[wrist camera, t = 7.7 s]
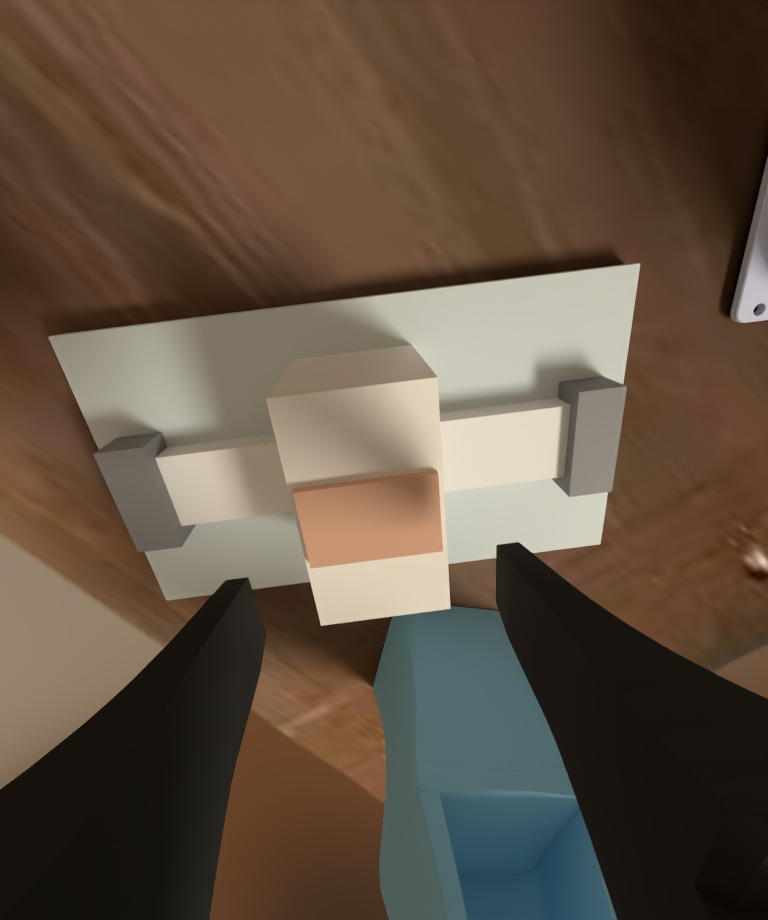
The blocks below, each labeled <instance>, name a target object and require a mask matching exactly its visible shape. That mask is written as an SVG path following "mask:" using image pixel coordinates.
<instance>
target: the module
mask: <svg viewBox="0 0 768 920" xmlns="http://www.w3.org/2000/svg"><path fill="white" fill-rule="evenodd" d="M266 401H267V406H268V410H269V414H270V418H271V422H272V426H273V430H274V434H275V438H276V443H277V447H278V451H279V455H280V459H281V463H282V467H283V471H284V476H285V480H286V484H287V488H288V492H289V496H290V500H291V504H292V508H293V513H294V517H295V521H296V525H297V529H298V533H299V537H300V541H301V546H302V550H303V554H304V558H305V562H306V566H307V570H308V574H309V578H310V583H311V587H312V591H313V595H314V599H315V603H316V607H317V611H318V615H319V620H320V624H321V626H323V625H331V624H339V623H346V622H354V621H361V620H369V619H377V618H384V617H392V616H399V615H407V614H415V613H422V612H430V611H437V610H445V609H451V608H450V590H449V572H448V554H447V536H446V517H445V499H444V481H443V463H442V445H441V427H440V409H439V391H438V377H437V376H436V374H435V373H434V372H433V371H432V369H431V368H430V367H429V366H428V364H427V363H426V362H425V361H424V359H423V358H422V357H421V355H420V354H419V353H418V352H417V350H416V349H415V348H414V347H413V345H405V346H397V347H389V348H381V349H373V350H365V351H357V352H349V353H341V354H333V355H325V356H317V357H309V358H301V359H295V360H294V361H293V362H292V364H291V365H290V366H289V368H288V369H287V371H286V372H285V373H284V375H283V376H282V377H281V379H280V380H279V381H278V383H277V384H276V386H275V387H274V388H273V390H272V391H271V392H270V394H269V395H268V396H267V398H266Z"/></svg>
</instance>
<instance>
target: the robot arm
mask: <svg viewBox="0 0 768 920" xmlns="http://www.w3.org/2000/svg"><path fill="white" fill-rule="evenodd" d="M756 306H757V310H756V312H755V313H754V309H755V307H756ZM730 316H731V319H732V320H733V321H734V322H741V323H747V322H755V321H763V320H768V157H767V161H766V165H765V170H764V174H763V178H762V182H761V186H760V191H759V195H758V199H757V203H756V207H755V212H754V216H753V220H752V224H751V228H750V233H749V237H748V241H747V245H746V249H745V254H744V258H743V262H742V266H741V270H740V275H739V279H738V283H737V287H736V291H735V296H734V300H733V304H732V308H731V314H730ZM496 603H497V606H498V609H499V613H500V616H501V619H502V622H503V625H504V628H505V630H506V633H507V636H508V639H509V641H510V643H511V645H512V647H513V650H514V652H515V654H516V656H517V658H518V660H519V663H520V665H521V667H522V669H523V671H524V673H525V675H526V678H527V680H528V682H529V684H530V686H531V688H532V690H533V692H534V695H535V697H536V699H537V701H538V703H539V705H540V707H541V710H542V712H543V714H544V716H545V718H546V720H547V723H548V725H549V727H550V730H551V732H552V734H553V737H554V739H555V742H556V744H557V747H558V750H559V752H560V755H561V758H562V761H563V763H564V766H565V769H566V771H567V774H568V777H569V780H570V782H571V785H572V788H573V791H574V794H575V796H576V799H577V802H578V805H579V808H580V811H581V813H582V816H583V819H584V822H585V825H586V828H587V830H588V833H589V836H590V839H591V842H592V845H593V848H594V851H595V854H596V857H597V860H598V863H599V866H600V869H601V872H602V875H603V878H604V881H605V884H606V887H607V890H608V893H609V896H610V899H611V902H612V905H613V908H614V911H615V914H616V918H617V920H768V699H767V698H765V697H762V696H760V695H758V694H756V693H754V692H751V691H749V690H747V689H745V688H743V687H741V686H739V685H737V684H734V683H732V682H730V681H728V680H726V679H724V678H722V677H720V676H718V675H716V674H714V673H713V672H711V671H709V670H707V669H705V668H703V667H701V666H699V665H697V664H695V663H693V662H692V661H690V660H688V659H686V658H684V657H682V656H680V655H678V654H677V653H675V652H673V651H671V650H669V649H668V648H666V647H664V646H662V645H661V644H659V643H657V642H656V641H654V640H652V639H651V638H649V637H647V636H646V635H644V634H642V633H641V632H639V631H637V630H636V629H634V628H633V627H631V626H629V625H628V624H626V623H625V622H623V621H622V620H620V619H619V618H617V617H616V616H614V615H613V614H611V613H610V612H608V611H607V610H606V609H604V608H603V607H601V606H600V605H598V604H597V603H595V602H594V601H593V600H591V599H590V598H588V597H587V596H586V595H584V594H583V593H582V592H580V591H579V590H578V589H576V588H575V587H574V586H573V585H571V584H570V583H569V582H567V581H566V580H565V579H563V578H562V577H561V576H560V575H558V574H557V573H556V572H555V571H553V570H552V569H551V568H550V567H549V566H547V565H546V564H545V563H544V562H542V561H541V560H540V559H539V558H538V557H536V556H535V555H534V554H533V553H532V552H530V551H529V550H528V549H527V548H525V547H524V546H523V545H522V544H520V543H519V542H515V543H507V544H500V545H496ZM265 636H266V630H265V627H264V624H263V621H262V618H261V615H260V612H259V609H258V606H257V602H256V599H255V596H254V593H253V590H252V587H251V584H250V581H249V578H248V577H246V578H238V579H230V580H226V581H225V582H224V583H223V584H222V585H221V586H220V587H219V588H218V589H217V590H216V591H215V593H214V594H213V595H212V596H211V597H210V598H209V599H208V600H207V602H206V603H205V604H204V605H203V606H202V607H201V608H200V609H199V611H198V612H197V613H196V614H195V615H194V616H193V617H192V618H191V619H190V621H189V622H188V623H187V624H186V625H185V626H184V627H183V628H182V629H181V630H180V632H179V633H178V634H177V635H176V636H175V637H174V638H173V639H172V640H171V641H170V642H169V644H168V645H167V646H166V647H165V648H164V649H163V650H162V651H161V652H160V653H159V654H158V655H157V656H156V657H155V658H154V659H153V660H152V661H151V662H150V663H149V664H148V665H147V666H146V667H145V668H144V669H143V670H142V671H141V672H140V673H139V674H138V675H137V676H136V677H135V678H134V679H133V680H132V681H131V682H130V683H129V684H128V685H127V686H126V687H125V688H124V689H123V690H122V691H120V692H119V693H118V694H117V695H116V696H115V697H114V698H113V699H112V700H111V701H109V702H108V703H107V704H106V705H105V706H104V707H103V708H102V709H100V710H99V711H98V712H97V713H96V714H95V715H94V716H92V717H91V718H90V719H89V720H88V721H87V722H86V723H84V724H83V725H82V726H81V727H80V728H78V729H77V730H76V731H75V732H73V733H72V734H71V735H70V736H68V738H66V739H65V740H63V741H62V742H61V743H60V744H59V745H57V746H56V747H55V748H54V749H52V750H51V751H50V752H49V753H47V754H46V755H45V756H44V757H42V758H41V759H40V760H39V761H38V762H36V763H35V764H34V765H33V766H31V767H30V768H29V769H27V770H26V771H25V772H23V773H22V774H21V775H19V776H18V777H17V778H15V779H14V780H13V781H11V782H10V783H9V784H7V785H6V786H5V787H3V788H2V789H1V790H0V920H209V918H210V911H211V904H212V896H213V889H214V883H215V876H216V870H217V864H218V858H219V851H220V845H221V839H222V832H223V827H224V821H225V815H226V810H227V804H228V799H229V793H230V787H231V782H232V778H233V774H234V769H235V765H236V760H237V757H238V753H239V750H240V746H241V742H242V738H243V735H244V731H245V727H246V724H247V720H248V716H249V713H250V709H251V705H252V702H253V698H254V694H255V690H256V686H257V682H258V679H259V675H260V671H261V665H262V658H263V652H264V644H265Z"/></svg>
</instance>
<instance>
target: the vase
mask: <svg viewBox="0 0 768 920" xmlns="http://www.w3.org/2000/svg"><path fill="white" fill-rule="evenodd" d="M450 608H451V609H445V610H437V611H430V612H422V613H415V614H407V615H399V616H393V617H392V619H391V622H390V625H389V629H388V632H387V636H386V640H385V644H384V647H383V651H382V655H381V659H380V662H379V666H378V670H377V673H376V677H375V681H374V685H373V690H374V694H375V697H376V700H377V704H378V707H379V711H380V715H381V720H382V725H383V730H384V737H385V746H386V796H385V809H384V821H383V832H382V841H381V852H380V858H379V864H380V889H381V892H382V896H383V899H384V903H385V906H386V909H387V913H388V917H389V920H617V918H616V914H615V911H614V908H613V905H612V902H611V899H610V896H609V893H608V890H607V887H606V884H605V881H604V878H603V875H602V872H601V869H600V866H599V863H598V860H597V857H596V854H595V851H594V848H593V845H592V842H591V839H590V836H589V833H588V830H587V828H586V825H585V822H584V819H583V816H582V813H581V811H580V808H579V805H578V802H577V799H576V796H575V794H574V791H573V788H572V785H571V782H570V780H569V777H568V774H567V771H566V769H565V766H564V763H563V761H562V758H561V755H560V752H559V750H558V747H557V744H556V742H555V739H554V737H553V734H552V732H551V730H550V727H549V725H548V723H547V720H546V718H545V716H544V714H543V712H542V710H541V707H540V705H539V703H538V701H537V699H536V697H535V695H534V692H533V690H532V688H531V686H530V684H529V682H528V680H527V678H526V675H525V673H524V671H523V669H522V667H521V665H520V663H519V660H518V658H517V656H516V654H515V652H514V650H513V647H512V645H511V643H510V641H509V639H508V636H507V633H506V630H505V628H504V625H503V622H502V619H501V616H500V613H499V611H495V610H487V609H477V608H468V607H458V606H450Z"/></svg>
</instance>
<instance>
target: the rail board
mask: <svg viewBox="0 0 768 920" xmlns="http://www.w3.org/2000/svg"><path fill="white" fill-rule="evenodd" d="M639 269H640V263H638V264H622V265H614V266H605V267H597V268H589V269H581V270H573V271H565V272H557V273H549V274H541V275H533V276H524V277H516V278H508V279H500V280H492V281H484V282H476V283H468V284H460V285H452V286H443V287H435V288H427V289H419V290H411V291H403V292H395V293H387V294H379V295H371V296H363V297H354V298H346V299H338V300H330V301H322V302H314V303H306V304H298V305H290V306H282V307H273V308H265V309H257V310H249V311H241V312H233V313H225V314H217V315H209V316H201V317H192V318H184V319H176V320H168V321H160V322H152V323H144V324H136V325H128V326H120V327H112V328H103V329H95V330H87V331H79V332H71V333H63V334H58V335H53V336H48V338H49V340H50V342H51V345H52V347H53V349H54V351H55V353H56V356H57V358H58V360H59V362H60V365H61V367H62V369H63V371H64V374H65V376H66V378H67V380H68V382H69V385H70V387H71V389H72V391H73V394H74V396H75V398H76V400H77V403H78V405H79V407H80V409H81V411H82V414H83V416H84V418H85V420H86V423H87V425H88V427H89V429H90V431H91V434H92V436H93V438H94V440H95V443H96V445H97V447H98V449H99V450H98V451H96V452H95V453H93V455H94V457H95V459H96V462H97V464H98V466H99V468H100V470H101V472H102V475H103V477H104V479H105V481H106V483H107V486H108V488H109V490H110V492H111V494H112V497H113V499H114V501H115V503H116V505H117V507H118V510H119V512H120V514H121V516H122V518H123V521H124V523H125V525H126V527H127V529H128V531H129V534H130V536H131V538H132V540H133V542H134V545H135V547H136V549H137V551H138V553H140V552H145V554H146V556H147V558H148V561H149V563H150V565H151V567H152V570H153V572H154V574H155V576H156V579H157V581H158V583H159V585H160V587H161V590H162V592H163V594H164V596H165V599H166V601H168V600H176V599H183V598H191V597H199V596H206V595H213V594H214V593H215V591H216V590H217V589H218V588H219V587H220V586H221V585H222V584H223V583H224V582H225V581H226V580H230V579H238V578H246V577H248V578H249V581H250V584H251V587H252V589H260V588H268V587H275V586H283V585H291V584H298V583H306V582H310V578H309V574H308V570H307V566H306V562H305V558H304V554H303V550H302V546H301V541H300V537H299V533H298V529H297V525H296V521H295V517H294V513H293V508H292V504H291V500H290V496H289V492H288V488H287V484H286V480H285V476H284V471H283V467H282V463H281V459H280V455H279V451H278V447H277V443H276V438H275V434H274V430H273V426H272V422H271V418H270V414H269V410H268V406H267V401H266V398H267V396H268V395H269V394H270V392H271V391H272V390H273V388H274V387H275V386H276V384H277V383H278V381H279V380H280V379H281V377H282V376H283V375H284V373H285V372H286V371H287V369H288V368H289V366H290V365H291V364H292V362H293V361H294V360H295V359H301V358H309V357H317V356H325V355H333V354H341V353H349V352H357V351H365V350H373V349H381V348H389V347H397V346H405V345H413V347H414V348H415V349H416V350H417V352H418V353H419V354H420V355H421V357H422V358H423V359H424V361H425V362H426V363H427V364H428V366H429V367H430V368H431V369H432V371H433V372H434V373H435V374H436V376H437V377H438V391H439V409H440V427H441V445H442V463H443V481H444V499H445V517H446V536H447V554H448V564H452V563H460V562H467V561H475V560H483V559H490V558H496V545H500V544H507V543H515V542H519V543H520V544H522V545H523V546H524V547H525V548H527V549H528V550H529V551H530V552H532V553H536V552H544V551H552V550H559V549H567V548H575V547H582V546H590V545H598V544H601V537H602V530H603V523H604V516H605V509H606V502H607V494H608V492H612V486H613V479H614V473H615V466H616V459H617V452H618V445H619V438H620V432H621V425H622V418H623V411H624V404H625V398H626V391H627V386H626V385H623V382H624V375H625V368H626V361H627V354H628V347H629V340H630V333H631V326H632V319H633V312H634V305H635V298H636V291H637V284H638V276H639Z"/></svg>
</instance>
